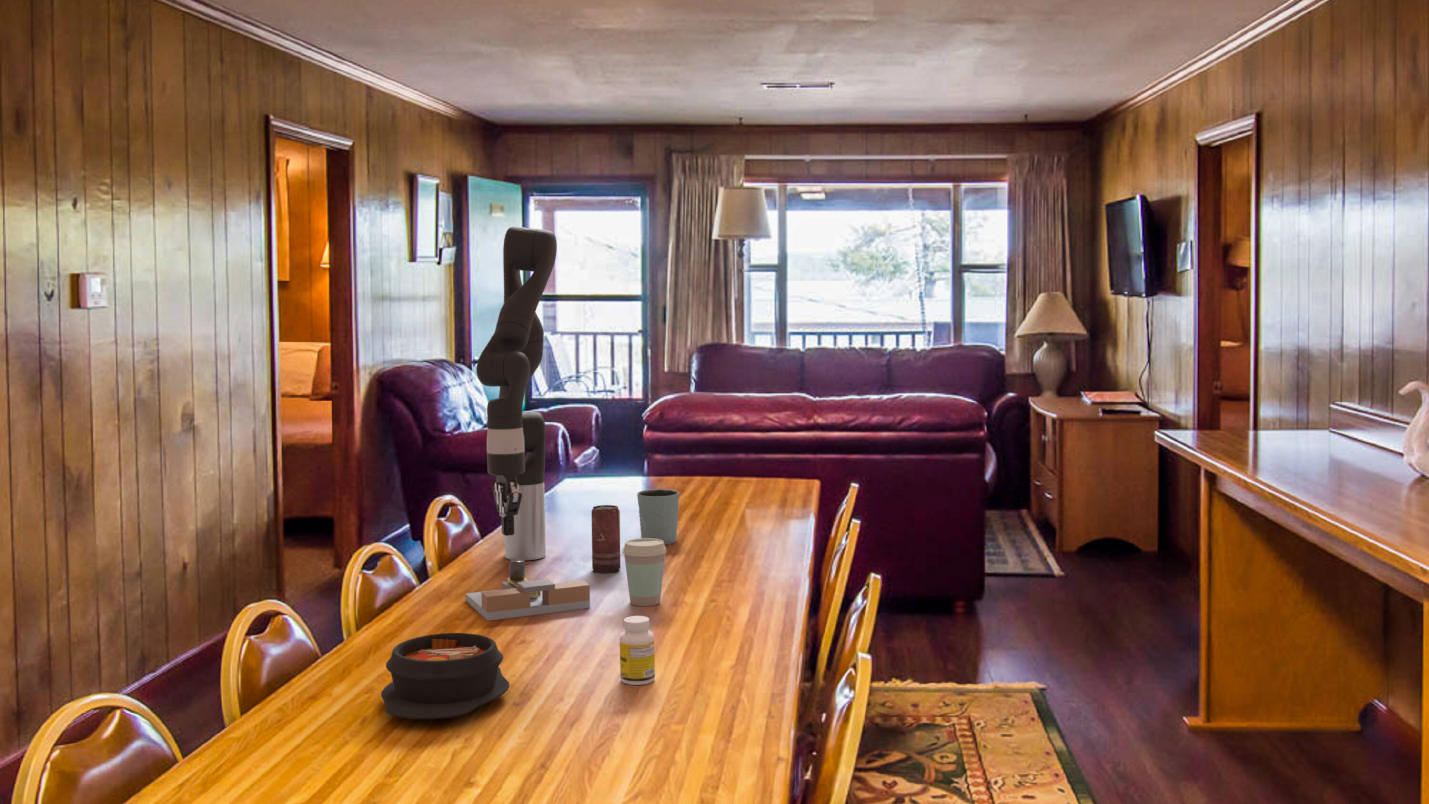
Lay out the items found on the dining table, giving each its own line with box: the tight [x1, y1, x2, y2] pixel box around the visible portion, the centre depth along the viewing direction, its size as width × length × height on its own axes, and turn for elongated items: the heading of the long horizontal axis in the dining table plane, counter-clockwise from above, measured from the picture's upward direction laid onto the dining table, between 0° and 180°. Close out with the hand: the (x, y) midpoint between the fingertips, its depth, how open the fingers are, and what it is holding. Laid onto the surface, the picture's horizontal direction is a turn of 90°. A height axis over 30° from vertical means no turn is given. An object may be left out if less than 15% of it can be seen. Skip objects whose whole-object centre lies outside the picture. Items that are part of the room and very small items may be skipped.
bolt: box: [506, 560, 538, 598], centre depth 236 cm, size 10×3×6 cm, turn 26°
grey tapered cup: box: [636, 488, 680, 545], centre depth 291 cm, size 10×10×12 cm
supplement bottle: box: [619, 615, 656, 686], centre depth 187 cm, size 5×5×10 cm
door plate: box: [465, 578, 591, 622], centre depth 233 cm, size 16×20×6 cm
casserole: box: [380, 632, 510, 720], centre depth 178 cm, size 25×19×8 cm
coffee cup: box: [622, 537, 667, 607], centre depth 234 cm, size 8×8×12 cm
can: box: [591, 504, 621, 574], centre depth 261 cm, size 6×6×14 cm
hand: (508, 534), depth 245 cm, fingers closed
